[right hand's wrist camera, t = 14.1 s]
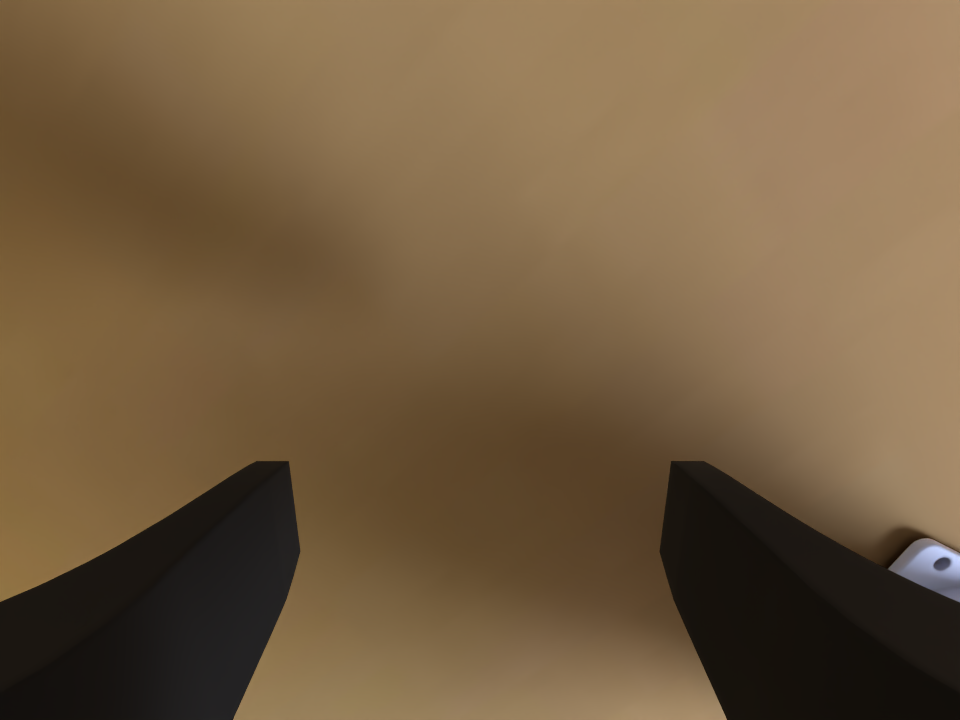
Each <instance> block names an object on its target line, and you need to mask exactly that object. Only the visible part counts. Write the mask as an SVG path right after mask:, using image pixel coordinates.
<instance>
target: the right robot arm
mask: <svg viewBox="0 0 960 720" xmlns="http://www.w3.org/2000/svg"><path fill="white" fill-rule="evenodd" d="M299 554H300V545H299V537H298V529H297V522H296V514H295V506H294V498H293V490H292V482H291V475H290V467H289V461H256V462H254V463H252V464H250V465H248V466H247V467H245V468H243V469H242V470H240V471H238V472H237V473H235V474H233V475H232V476H230V477H229V478H227V479H226V480H224V481H222V482H221V483H219V484H218V485H216V486H215V487H213V488H212V489H210V490H208V491H207V492H205V493H204V494H202V495H201V496H199V497H198V498H196V499H194V500H193V501H191V502H190V503H188V504H187V505H185V506H183V507H182V508H180V509H179V510H177V511H176V512H174V513H173V514H171V515H169V516H168V517H166V518H164V519H163V520H161V521H159V522H157V523H156V524H154V525H152V526H151V527H149V528H147V529H146V530H144V531H142V532H140V533H139V534H137V535H135V536H134V537H132V538H130V539H129V540H127V541H125V542H123V543H122V544H120V545H118V546H117V547H115V548H113V549H111V550H109V551H107V552H106V553H104V554H102V555H100V556H98V557H96V558H94V559H92V560H90V561H89V562H87V563H85V564H83V565H81V566H79V567H76V568H74V569H72V570H70V571H68V572H66V573H64V574H62V575H60V576H58V577H56V578H54V579H52V580H50V581H48V582H46V583H43V584H41V585H39V586H37V587H35V588H32V589H30V590H28V591H25V592H23V593H21V594H18V595H16V596H13V597H11V598H9V599H6V600H4V601H2V602H0V720H233V718H234V716H235V713H236V711H237V709H238V707H239V705H240V702H241V700H242V698H243V696H244V694H245V691H246V689H247V687H248V685H249V682H250V680H251V678H252V676H253V674H254V671H255V669H256V667H257V665H258V662H259V660H260V658H261V656H262V654H263V651H264V649H265V647H266V645H267V642H268V640H269V638H270V636H271V633H272V631H273V629H274V627H275V624H276V622H277V620H278V618H279V615H280V613H281V611H282V608H283V606H284V604H285V601H286V599H287V595H288V592H289V589H290V586H291V583H292V579H293V576H294V572H295V569H296V565H297V562H298V558H299ZM660 554H661V558H662V562H663V565H664V569H665V572H666V576H667V579H668V583H669V586H670V589H671V592H672V595H673V599H674V601H675V604H676V606H677V608H678V611H679V613H680V615H681V618H682V620H683V622H684V624H685V627H686V629H687V631H688V633H689V636H690V638H691V640H692V642H693V645H694V647H695V649H696V651H697V654H698V656H699V658H700V660H701V662H702V665H703V667H704V669H705V671H706V674H707V676H708V678H709V680H710V682H711V685H712V687H713V689H714V691H715V694H716V696H717V698H718V700H719V702H720V705H721V707H722V709H723V711H724V713H725V716H726V718H727V720H960V553H959V552H957V551H955V550H953V549H951V548H949V547H947V546H945V545H943V544H941V543H939V542H937V541H935V540H933V539H929V538H924V539H919V540H917V541H915V542H913V543H912V544H911V545H910V546H909V547H908V548H907V549H906V550H905V551H904V552H903V553H902V554H901V555H900V556H899V557H898V559H897V560H896V561H895V562H894V563H893V564H892V565H891V566H890V567H889V568H888V569H886V568H884V567H882V566H880V565H878V564H876V563H874V562H872V561H870V560H868V559H866V558H864V557H862V556H861V555H859V554H857V553H855V552H853V551H851V550H849V549H848V548H846V547H844V546H842V545H841V544H839V543H837V542H835V541H833V540H832V539H830V538H828V537H826V536H825V535H823V534H821V533H819V532H818V531H816V530H814V529H813V528H811V527H809V526H808V525H806V524H804V523H803V522H801V521H799V520H798V519H796V518H794V517H793V516H791V515H790V514H788V513H786V512H785V511H783V510H782V509H780V508H778V507H777V506H775V505H774V504H772V503H771V502H769V501H767V500H766V499H764V498H763V497H761V496H760V495H758V494H757V493H755V492H753V491H752V490H750V489H749V488H747V487H746V486H744V485H743V484H741V483H740V482H738V481H736V480H735V479H733V478H732V477H730V476H729V475H727V474H725V473H724V472H722V471H720V470H719V469H717V468H715V467H714V466H712V465H710V464H708V463H706V462H704V461H671V467H670V475H669V482H668V490H667V498H666V506H665V514H664V522H663V529H662V537H661V545H660ZM939 558H940V559H939ZM938 559H939V560H938ZM936 560H937V561H936ZM935 561H936V562H935Z"/></svg>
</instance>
